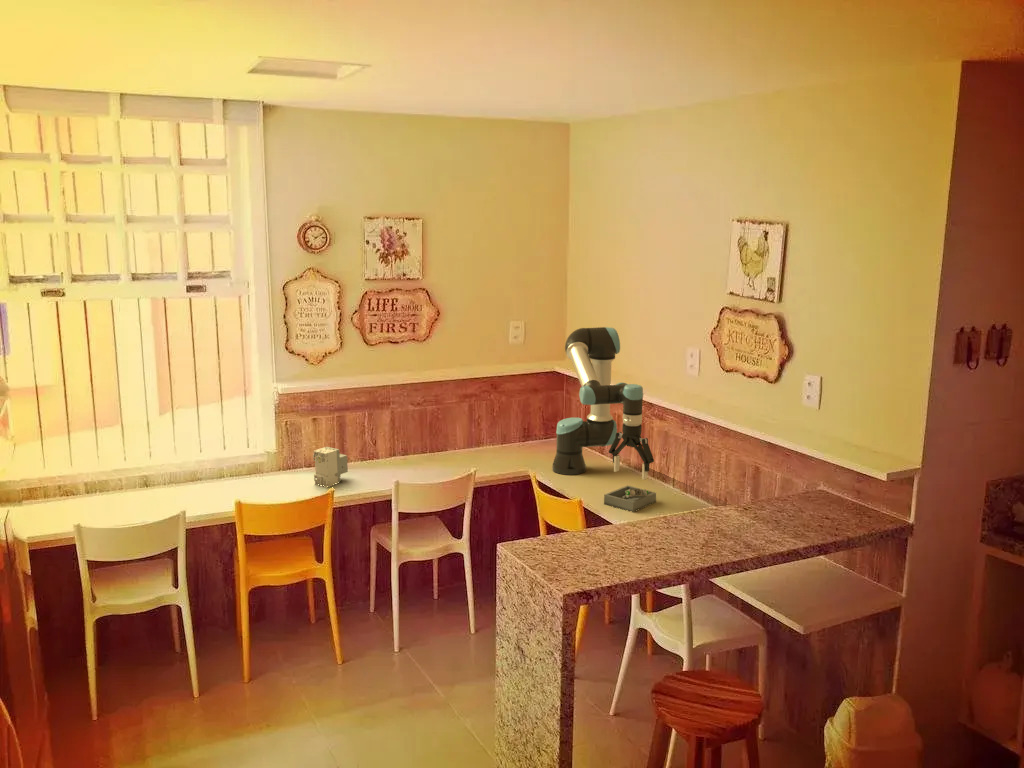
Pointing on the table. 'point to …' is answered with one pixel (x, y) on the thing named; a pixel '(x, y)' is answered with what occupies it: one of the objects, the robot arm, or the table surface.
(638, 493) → the mechanical component
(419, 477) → the table surface
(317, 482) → the circuit breaker
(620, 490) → the parts tray
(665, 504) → the table surface
